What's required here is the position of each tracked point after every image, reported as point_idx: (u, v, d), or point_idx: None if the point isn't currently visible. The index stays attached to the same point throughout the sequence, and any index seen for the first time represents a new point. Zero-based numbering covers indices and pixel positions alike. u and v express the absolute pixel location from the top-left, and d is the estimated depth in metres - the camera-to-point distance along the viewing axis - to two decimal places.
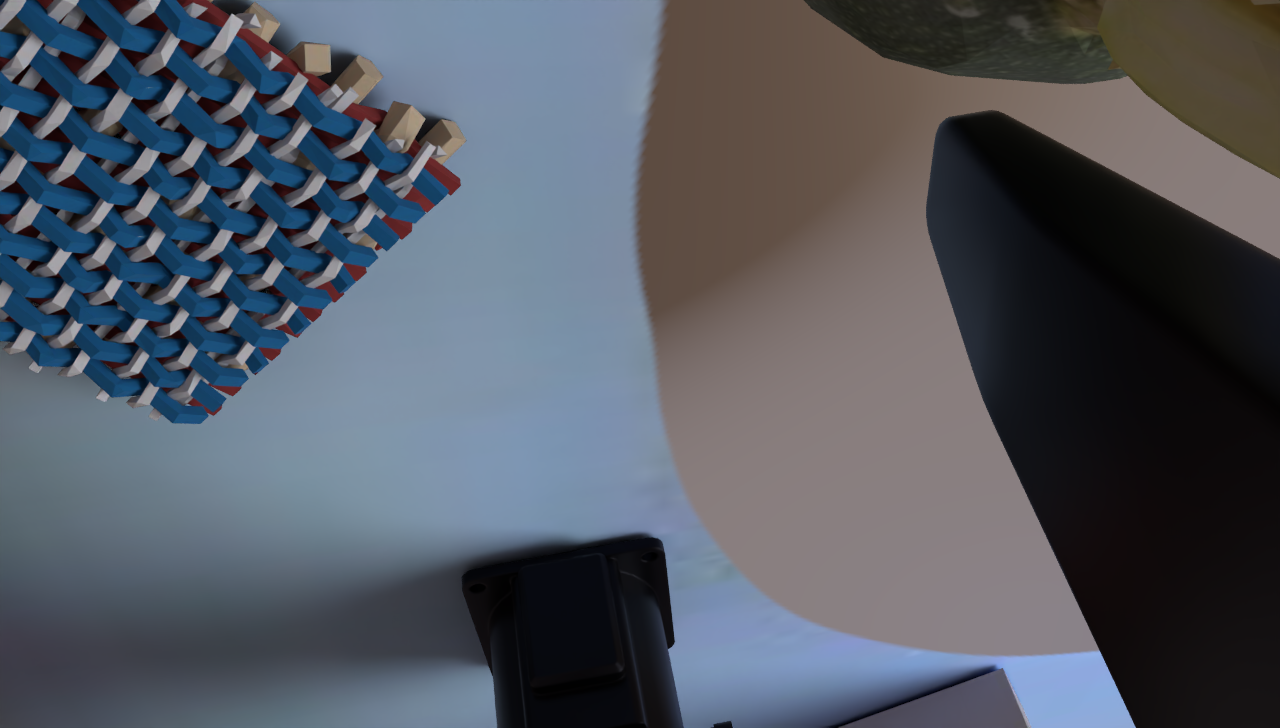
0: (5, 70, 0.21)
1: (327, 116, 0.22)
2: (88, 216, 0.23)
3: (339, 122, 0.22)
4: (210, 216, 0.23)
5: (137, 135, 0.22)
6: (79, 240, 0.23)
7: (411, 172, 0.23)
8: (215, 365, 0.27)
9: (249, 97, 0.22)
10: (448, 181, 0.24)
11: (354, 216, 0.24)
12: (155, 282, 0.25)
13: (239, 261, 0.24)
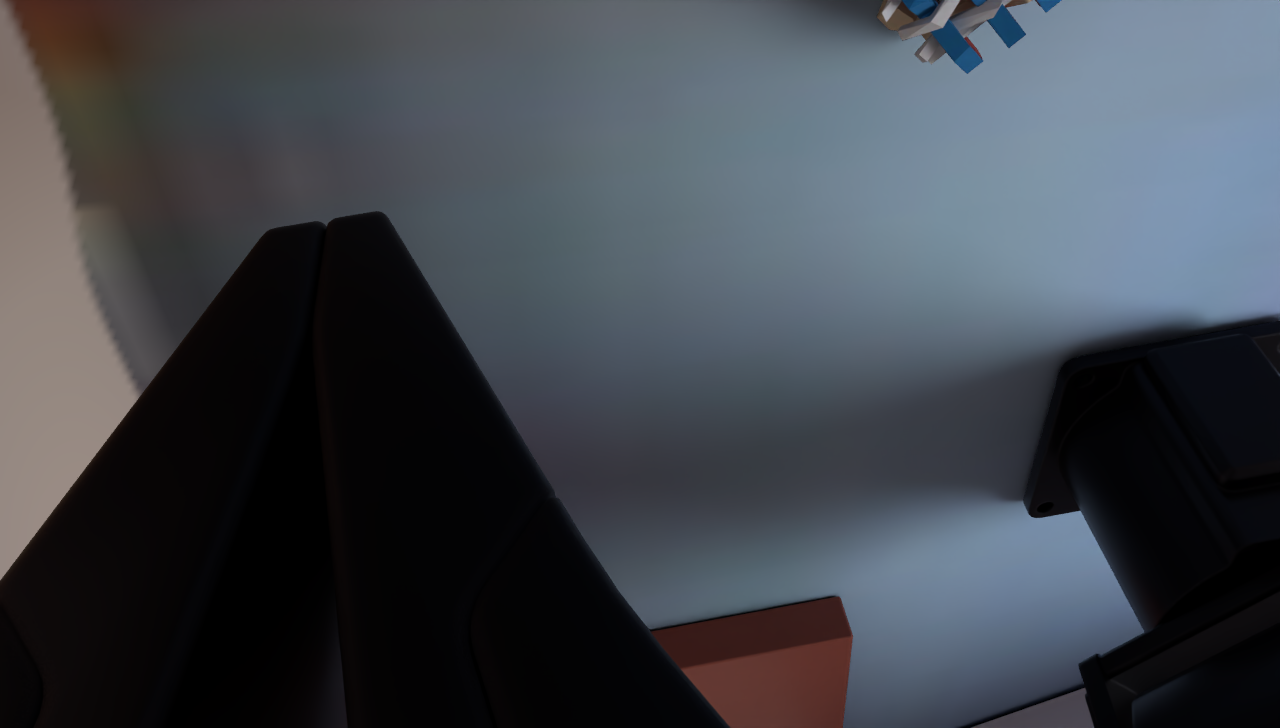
0: None
1: None
2: None
3: None
4: None
5: None
6: None
7: None
8: None
9: None
10: None
11: None
12: None
13: None
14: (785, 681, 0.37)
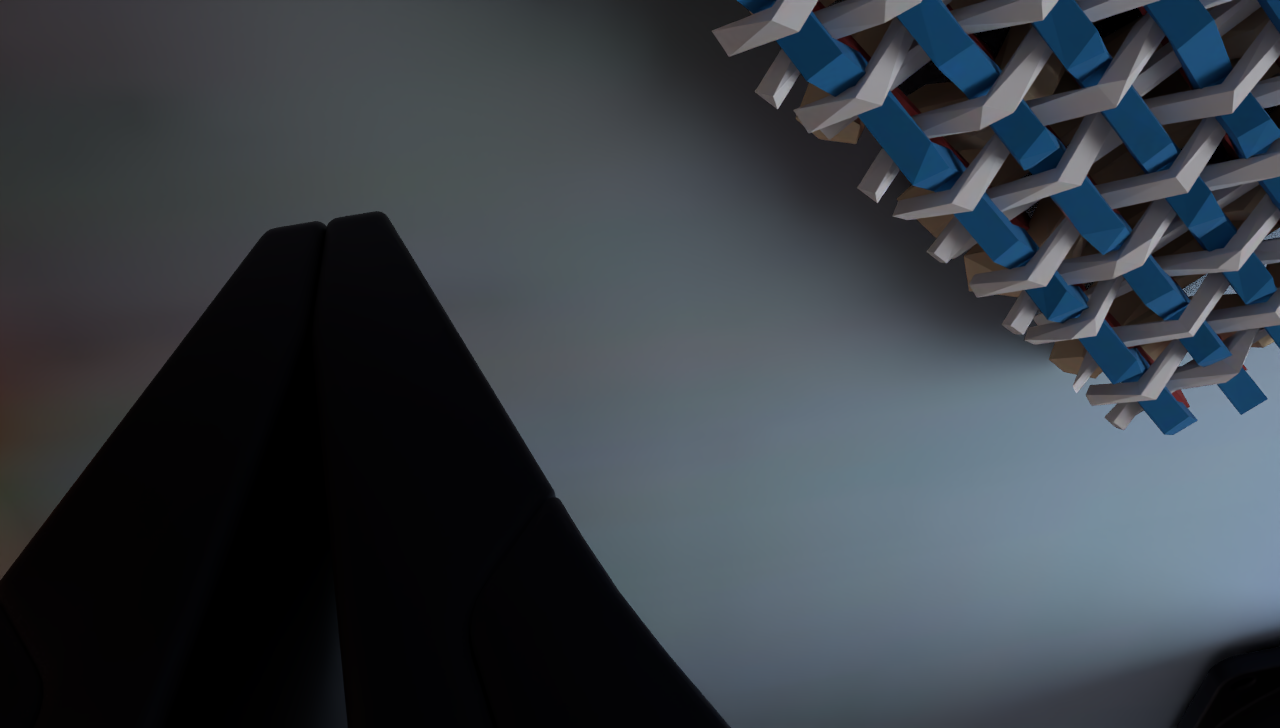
0: None
1: None
2: None
3: None
4: None
5: None
6: None
7: None
8: None
9: None
10: None
11: None
12: None
13: None
14: None
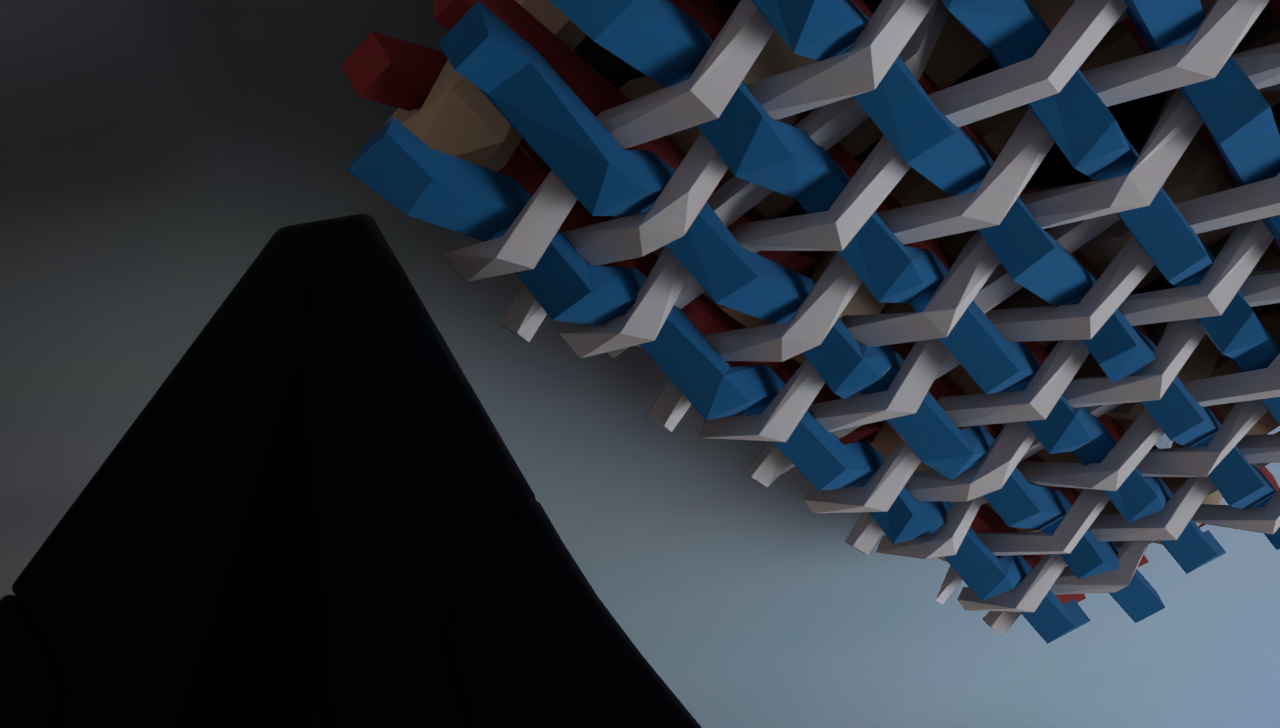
0: None
1: None
2: (1264, 187, 0.08)
3: None
4: None
5: None
6: None
7: None
8: (1200, 530, 0.12)
9: None
10: None
11: None
12: None
13: None
14: None
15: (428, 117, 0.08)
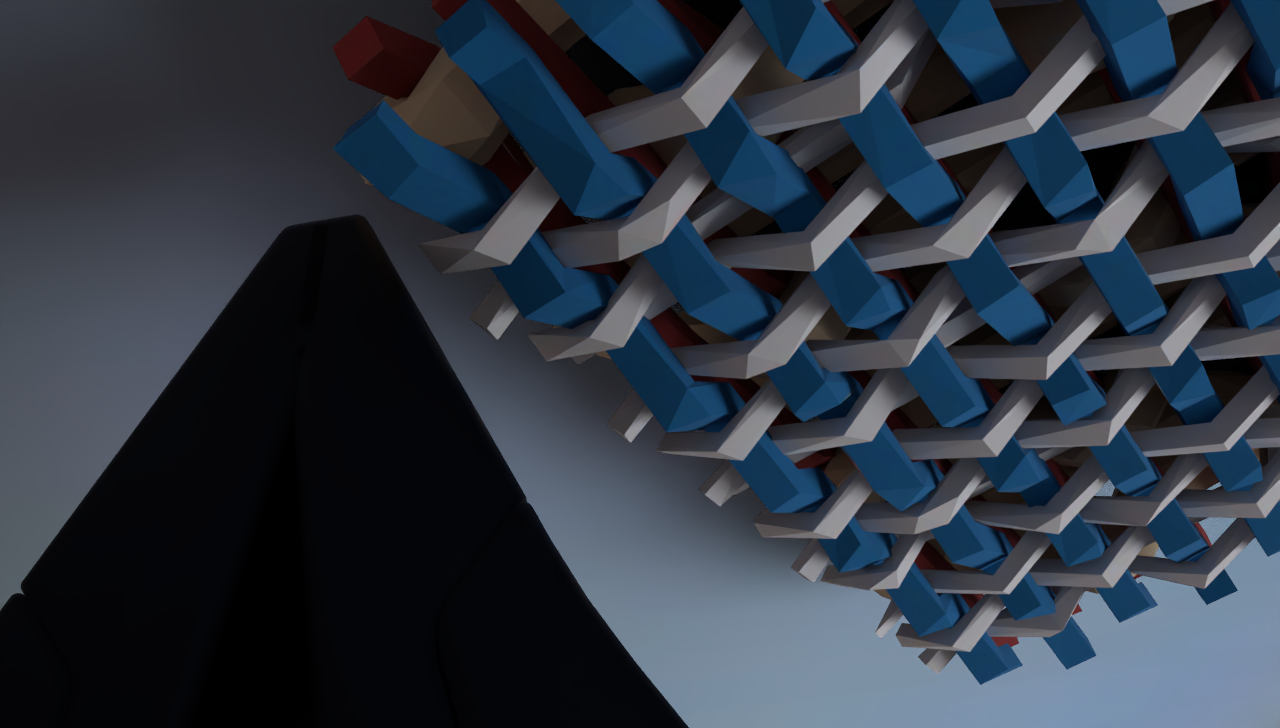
0: None
1: None
2: (1220, 242, 0.09)
3: None
4: None
5: None
6: None
7: None
8: (1133, 579, 0.12)
9: None
10: None
11: None
12: (1174, 407, 0.10)
13: None
14: None
15: (415, 106, 0.08)
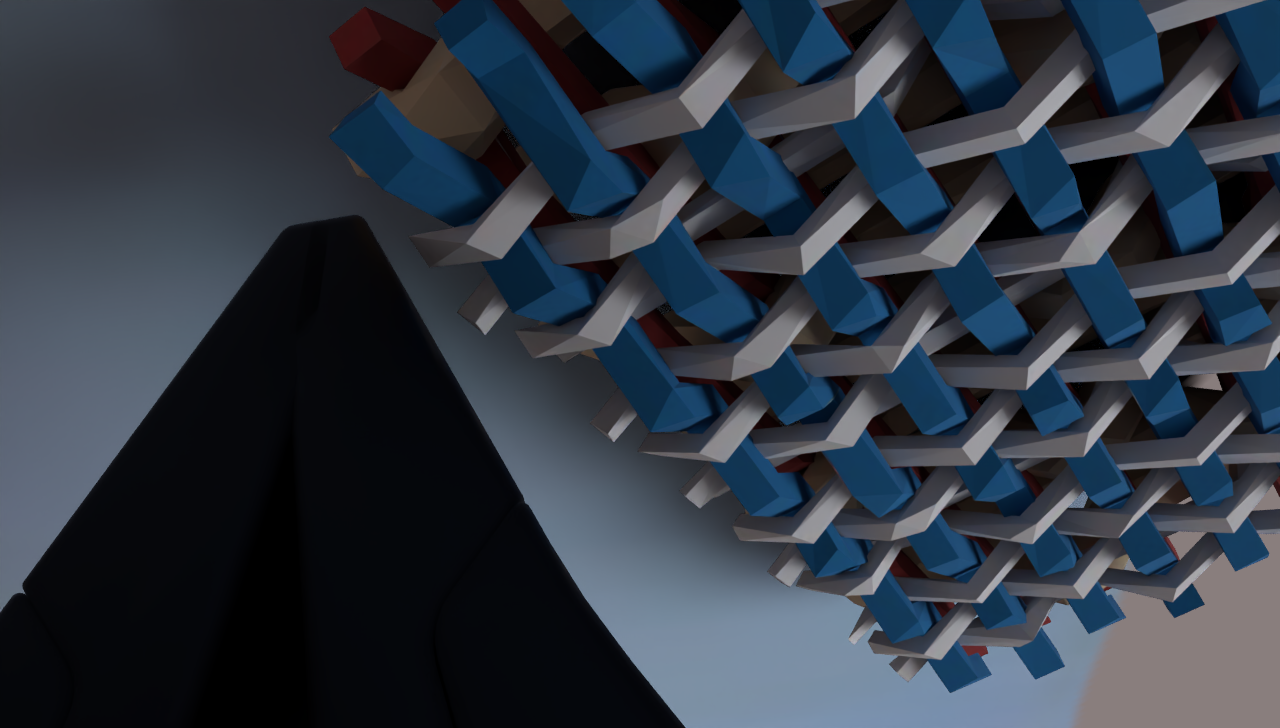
0: None
1: None
2: (1200, 258, 0.09)
3: None
4: None
5: None
6: None
7: None
8: (1104, 592, 0.12)
9: None
10: None
11: None
12: (1147, 421, 0.11)
13: None
14: None
15: (411, 98, 0.08)
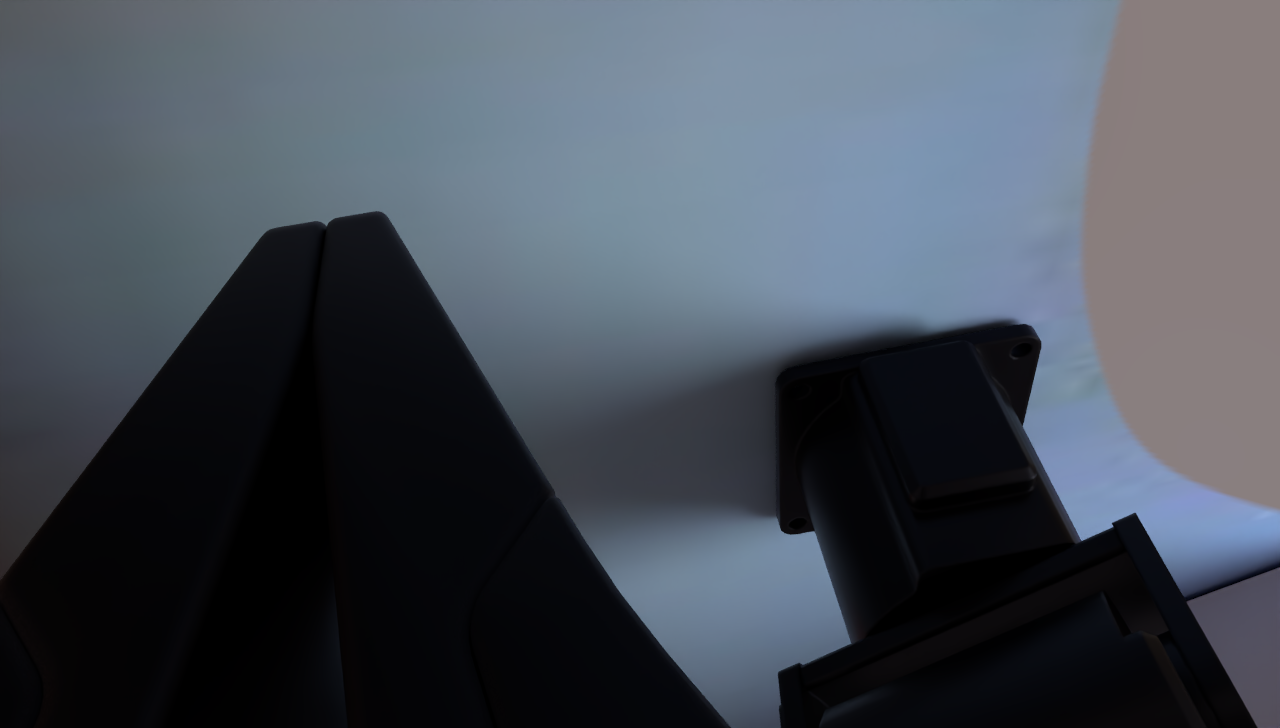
0: None
1: None
2: None
3: None
4: None
5: None
6: None
7: None
8: None
9: None
10: None
11: None
12: None
13: None
14: None
15: None
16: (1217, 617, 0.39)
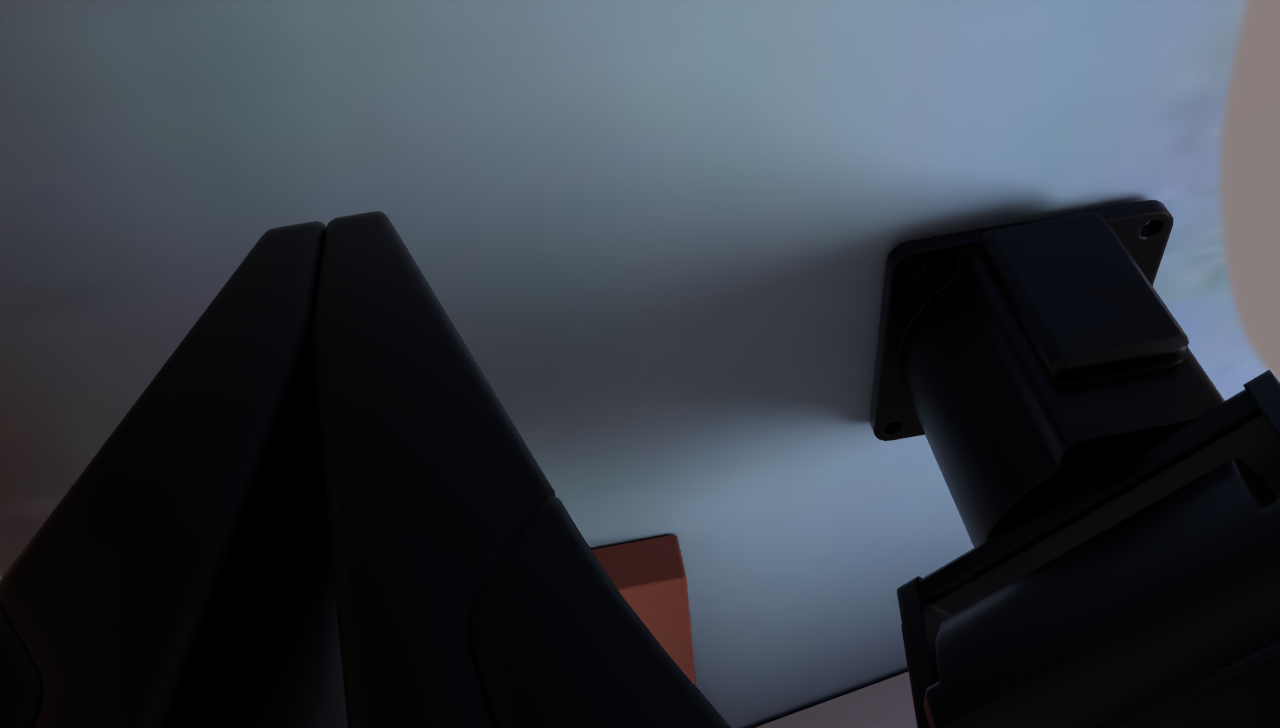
0: None
1: None
2: None
3: None
4: None
5: None
6: None
7: None
8: None
9: None
10: None
11: None
12: None
13: None
14: None
15: None
16: None
